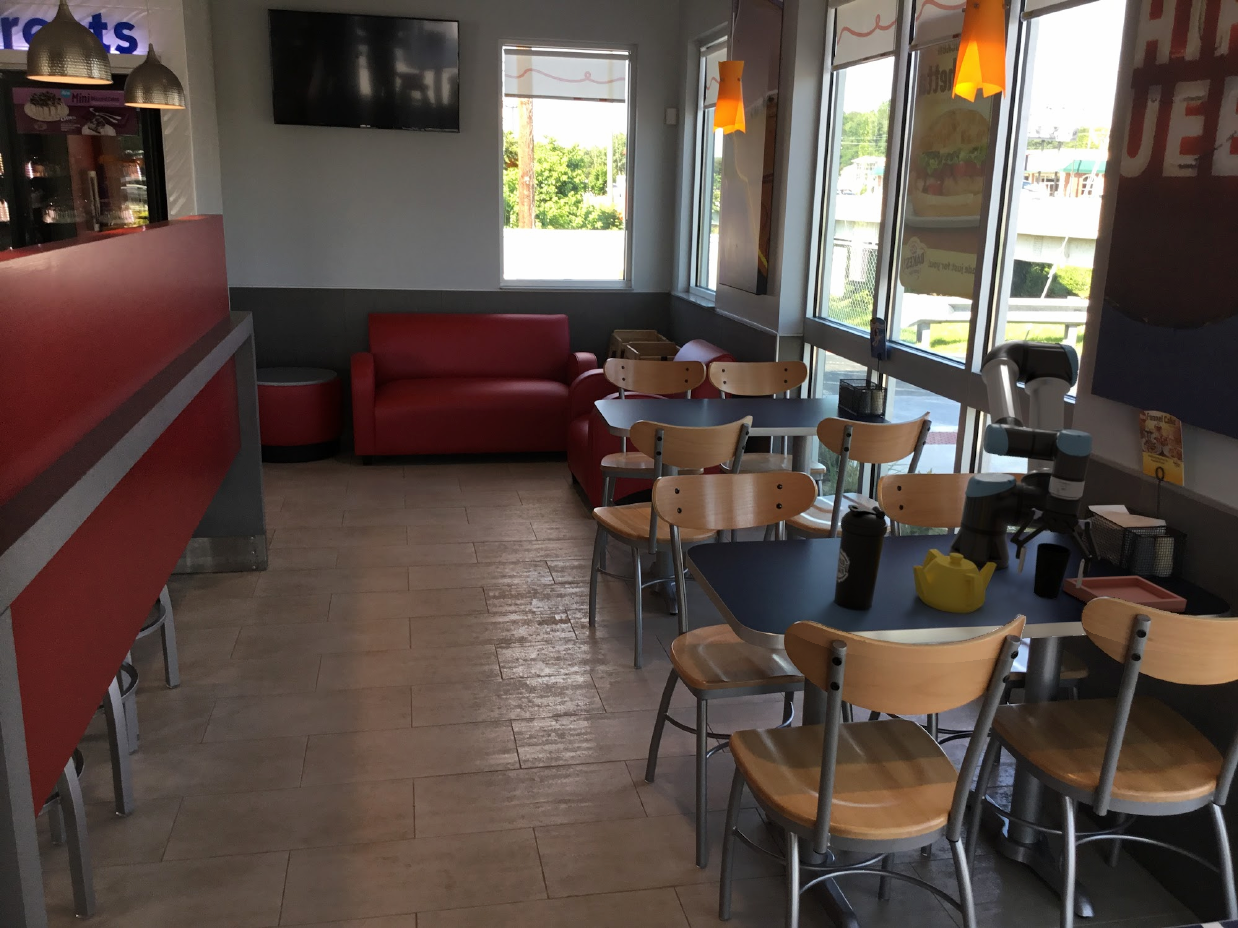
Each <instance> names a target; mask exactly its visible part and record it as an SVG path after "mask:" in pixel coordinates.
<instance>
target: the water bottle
mask: <svg viewBox="0 0 1238 928" xmlns="http://www.w3.org/2000/svg"><path fill="white" fill-rule="evenodd" d="M847 508H848V510H849V511H847V512H846V513H844V515H843V516H841V519H840V529H841V535H840V543H839V549H838V551H839V552H838V557H837V558H838V559H837V560H838V561H837V568H836V569H837V570H836V578H835V579H836V580H835V581H836V582H835V588H834V589H835V591H834V601H833V602H834V603H835V604H836V605H837V606H839V607H840V608H841V607H842V608H844V609H847V610H851V611H867V610H870V609H871V608H872V605H873V601H874V594H875V590H876V583H877V578H878V573H879V567H880V563H881V557H882V550H883V545H884V540H885V536H886V534H887V533H888V526H889V525H888V522H887V521H886V519H885V518H886V513H885V511H884V510H883V509H882V508H881V507H880V506H877V505H876V506H875V505H874V506H873V507H872V508H869V507H866V506H865V507H864V506H862V505H861V506H860V505H856V504H848V505H847Z"/></svg>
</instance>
